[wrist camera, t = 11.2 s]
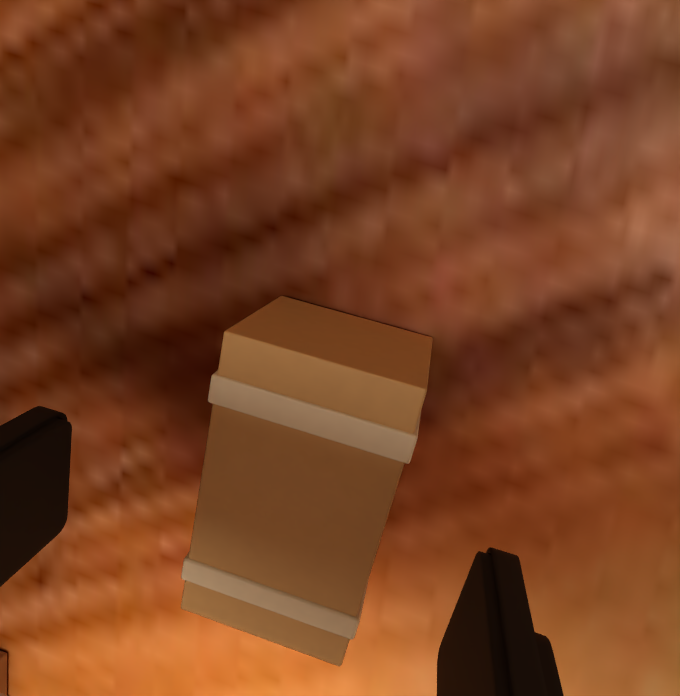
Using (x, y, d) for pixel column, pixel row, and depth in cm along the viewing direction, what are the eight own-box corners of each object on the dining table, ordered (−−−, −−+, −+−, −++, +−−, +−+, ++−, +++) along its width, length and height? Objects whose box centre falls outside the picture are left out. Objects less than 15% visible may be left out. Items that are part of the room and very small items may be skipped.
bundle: (437, 337, 14) (431, 392, 10) (368, 560, 17) (343, 671, 13) (278, 293, 15) (217, 330, 11) (236, 516, 17) (174, 610, 14)
